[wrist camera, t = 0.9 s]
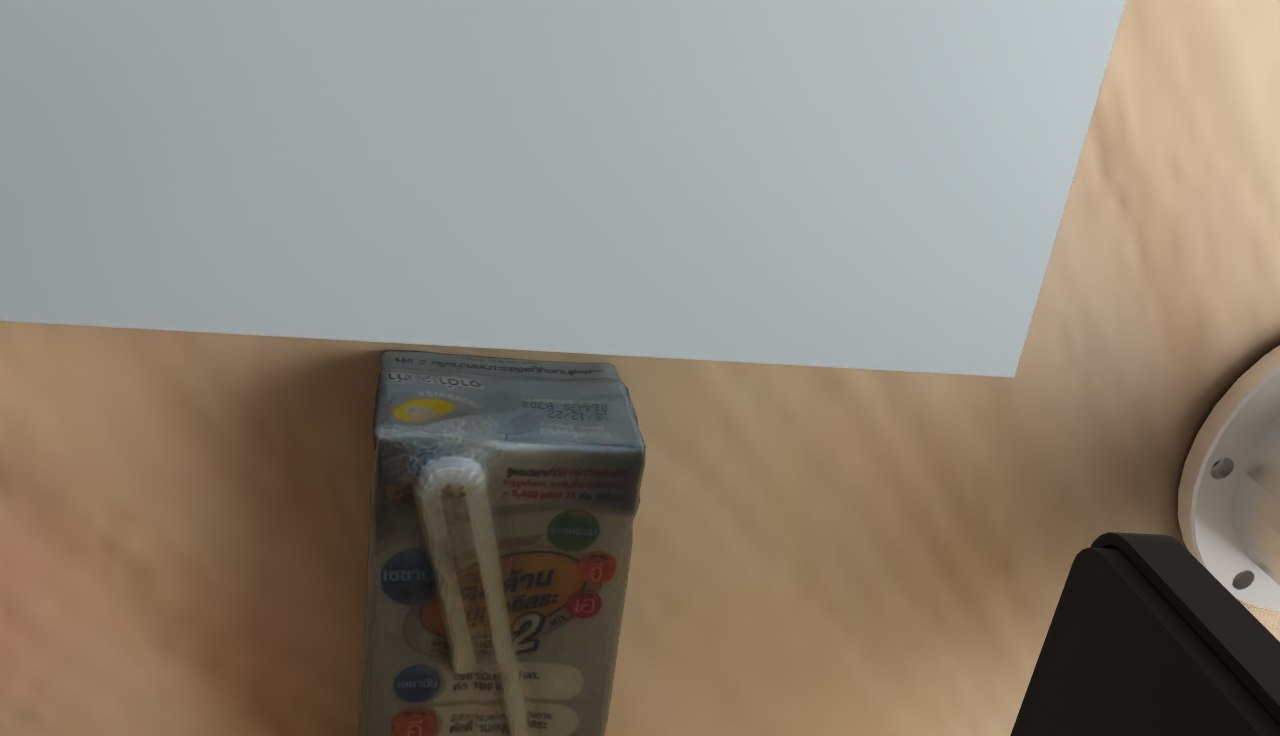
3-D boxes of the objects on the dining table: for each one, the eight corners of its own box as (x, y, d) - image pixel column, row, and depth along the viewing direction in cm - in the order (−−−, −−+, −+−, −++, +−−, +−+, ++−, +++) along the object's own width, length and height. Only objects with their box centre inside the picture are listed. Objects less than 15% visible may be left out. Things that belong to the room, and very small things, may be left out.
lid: (1171, -210, 23) (1359, -219, 18) (1003, 367, 28) (1114, 476, 23) (-127, -424, 18) (-333, -512, 14) (-29, 307, 24) (-150, 427, 19)
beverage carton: (631, 354, 36) (665, 458, 30) (566, 794, 44) (583, 944, 38) (378, 338, 34) (362, 444, 29) (359, 797, 42) (343, 953, 36)
